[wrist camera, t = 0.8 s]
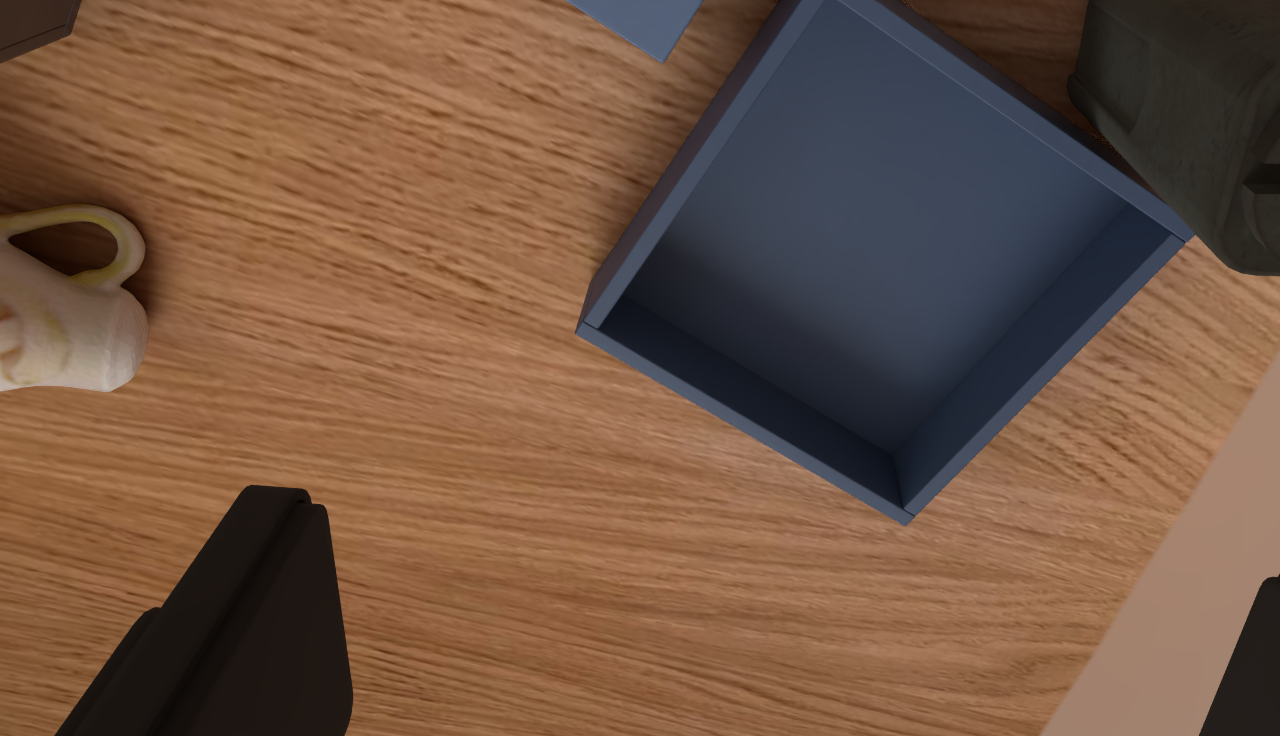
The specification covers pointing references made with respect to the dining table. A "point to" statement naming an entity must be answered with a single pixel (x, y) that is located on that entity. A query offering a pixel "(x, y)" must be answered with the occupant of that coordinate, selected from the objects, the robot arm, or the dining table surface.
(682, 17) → the blue block
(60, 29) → the charcoal bin
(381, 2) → the dining table surface
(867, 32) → the blue bin
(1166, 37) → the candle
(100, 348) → the mug
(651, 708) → the dining table surface
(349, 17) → the dining table surface
